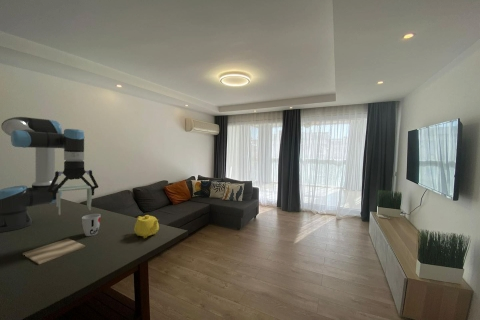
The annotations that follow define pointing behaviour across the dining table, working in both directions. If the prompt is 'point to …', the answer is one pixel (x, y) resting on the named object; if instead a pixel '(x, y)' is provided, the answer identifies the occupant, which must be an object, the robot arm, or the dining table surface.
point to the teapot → (146, 226)
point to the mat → (53, 250)
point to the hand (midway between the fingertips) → (74, 203)
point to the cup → (91, 224)
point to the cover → (77, 187)
